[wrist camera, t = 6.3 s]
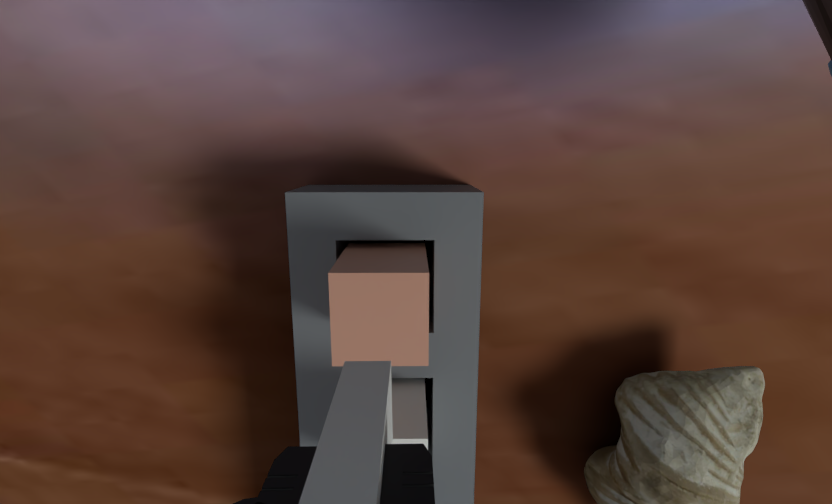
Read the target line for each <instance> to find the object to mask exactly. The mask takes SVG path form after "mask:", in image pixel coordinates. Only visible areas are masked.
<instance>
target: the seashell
mask: <svg viewBox="0 0 832 504" xmlns="http://www.w3.org/2000/svg"><path fill="white" fill-rule="evenodd" d="M764 387H765V381H764V376H763V373H762V371H761V370H760V369H759V368H757V367H754V366H737V367H722V368H714V369H707V370H702V371H696V372H695V371H658V372H652V373H640V374H638V375H635V376H633V377H629V378H625V379H624V381H623V383H622V384H621V385H620V387H619V388H618V389H617V391H616V395H615V399H614V400H615V407H616V409H617V411H618V414H619V417H620V421H621V434H620V439H619V441H618V443H617V445H612V446H606V447H603V448H601V449H599V450H597V451H595V452H594V453H593V454H592V455H591V456H590V457H589V459H588V460H587V462H586V465H585V468H584V476H585V479H586V484H587V487H588V489H589V492H590V493H591V495H592V497H593V498H594V500H595V501H596V503H597V504H739V502H740V487H741V484H742V480H743V472H744V460H745V458H746V457H747V456H748V455H749V454H750V453H751V452H752V451H753V449H754V447H755V446H756V444H757V442H758V437H759V432H760V429H761V425H762V420H763V407H762V400H761V399H762V395H763V391H764Z"/></svg>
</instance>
